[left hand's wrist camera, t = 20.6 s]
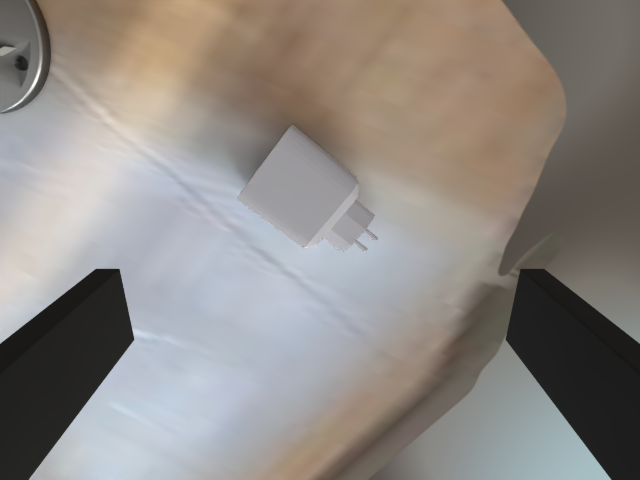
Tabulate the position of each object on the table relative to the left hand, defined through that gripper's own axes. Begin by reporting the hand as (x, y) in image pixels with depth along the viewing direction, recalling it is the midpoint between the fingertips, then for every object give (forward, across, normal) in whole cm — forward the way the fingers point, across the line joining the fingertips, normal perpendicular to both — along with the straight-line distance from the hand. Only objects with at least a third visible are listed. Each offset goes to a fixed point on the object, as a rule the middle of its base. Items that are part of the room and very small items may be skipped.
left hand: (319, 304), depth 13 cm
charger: (+31, 0, -5) cm, 32 cm away
